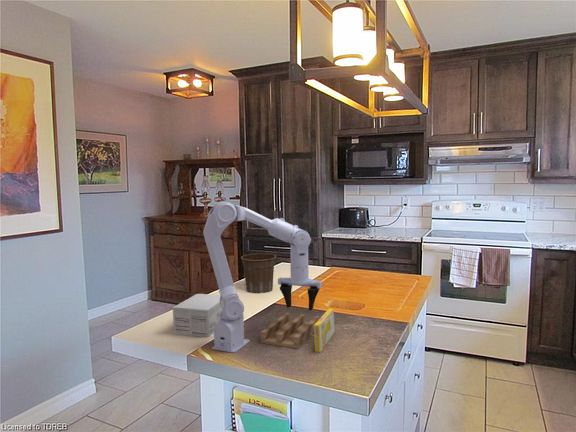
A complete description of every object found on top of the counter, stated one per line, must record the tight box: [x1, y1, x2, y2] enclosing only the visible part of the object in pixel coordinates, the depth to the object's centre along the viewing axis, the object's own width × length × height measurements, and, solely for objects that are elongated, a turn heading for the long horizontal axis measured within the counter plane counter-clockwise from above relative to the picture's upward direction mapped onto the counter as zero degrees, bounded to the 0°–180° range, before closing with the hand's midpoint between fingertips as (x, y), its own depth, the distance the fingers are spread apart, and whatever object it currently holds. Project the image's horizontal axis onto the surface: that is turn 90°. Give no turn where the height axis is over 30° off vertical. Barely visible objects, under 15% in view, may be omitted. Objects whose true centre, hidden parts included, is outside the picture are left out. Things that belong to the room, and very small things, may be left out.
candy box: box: [313, 308, 336, 353], centre depth 124 cm, size 16×2×8 cm, turn 159°
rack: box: [260, 312, 321, 349], centre depth 131 cm, size 20×12×4 cm, turn 157°
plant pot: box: [240, 253, 277, 294], centre depth 185 cm, size 16×16×16 cm
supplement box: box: [172, 293, 223, 338], centre depth 139 cm, size 17×13×9 cm
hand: (299, 308), depth 129 cm, fingers open, 7 cm apart
